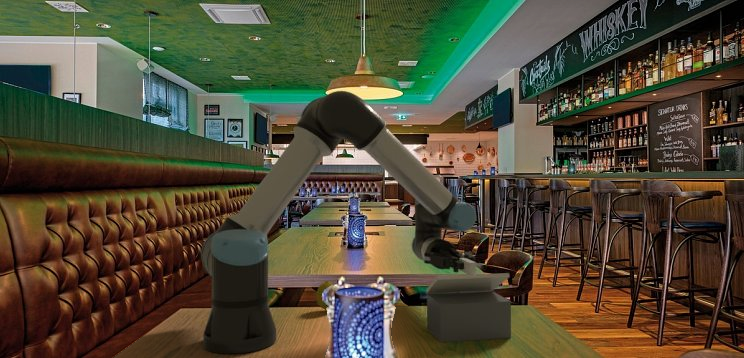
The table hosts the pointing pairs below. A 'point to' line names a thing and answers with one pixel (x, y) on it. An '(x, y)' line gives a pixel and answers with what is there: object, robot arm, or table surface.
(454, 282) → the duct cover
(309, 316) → the table surface
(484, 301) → the box
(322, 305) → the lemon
